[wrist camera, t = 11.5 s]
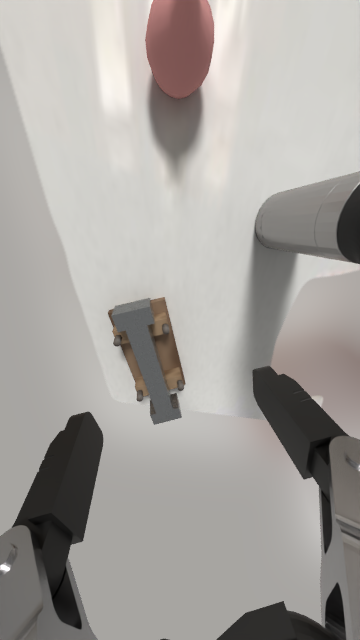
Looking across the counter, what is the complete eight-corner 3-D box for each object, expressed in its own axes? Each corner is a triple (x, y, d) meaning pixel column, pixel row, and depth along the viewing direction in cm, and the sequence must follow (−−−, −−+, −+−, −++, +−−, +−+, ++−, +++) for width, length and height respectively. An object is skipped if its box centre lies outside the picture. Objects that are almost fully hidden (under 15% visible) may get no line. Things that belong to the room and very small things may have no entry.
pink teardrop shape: (182, 124, 28) (202, 62, 17) (134, 76, 25) (124, -34, 15) (215, 64, 26) (262, -50, 15) (168, 4, 23) (185, -185, 13)
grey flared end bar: (149, 298, 34) (149, 306, 30) (179, 402, 45) (181, 417, 42) (115, 306, 33) (111, 315, 30) (153, 409, 45) (154, 424, 41)
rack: (164, 297, 39) (167, 309, 33) (184, 379, 49) (189, 400, 43) (109, 310, 38) (102, 325, 32) (140, 390, 48) (139, 413, 42)
